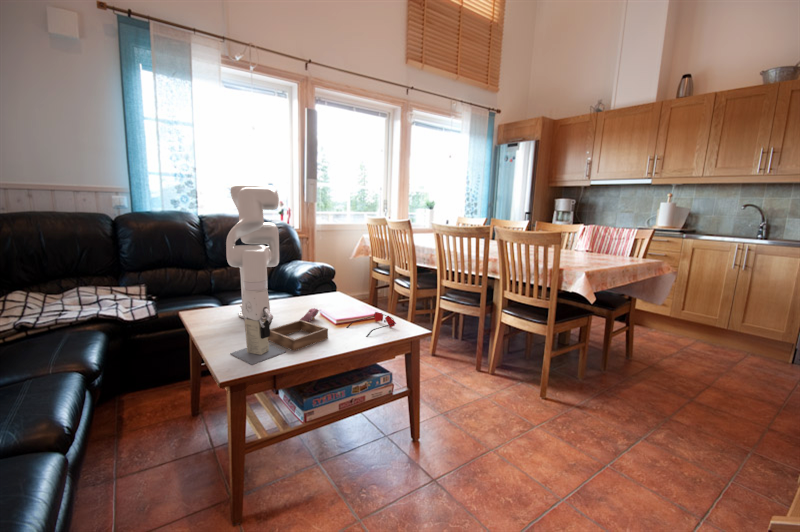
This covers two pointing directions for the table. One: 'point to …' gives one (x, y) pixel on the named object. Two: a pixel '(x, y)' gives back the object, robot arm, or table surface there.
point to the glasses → (379, 318)
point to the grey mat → (257, 355)
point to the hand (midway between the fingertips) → (257, 334)
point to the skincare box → (255, 337)
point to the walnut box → (294, 344)
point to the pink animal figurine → (310, 315)
